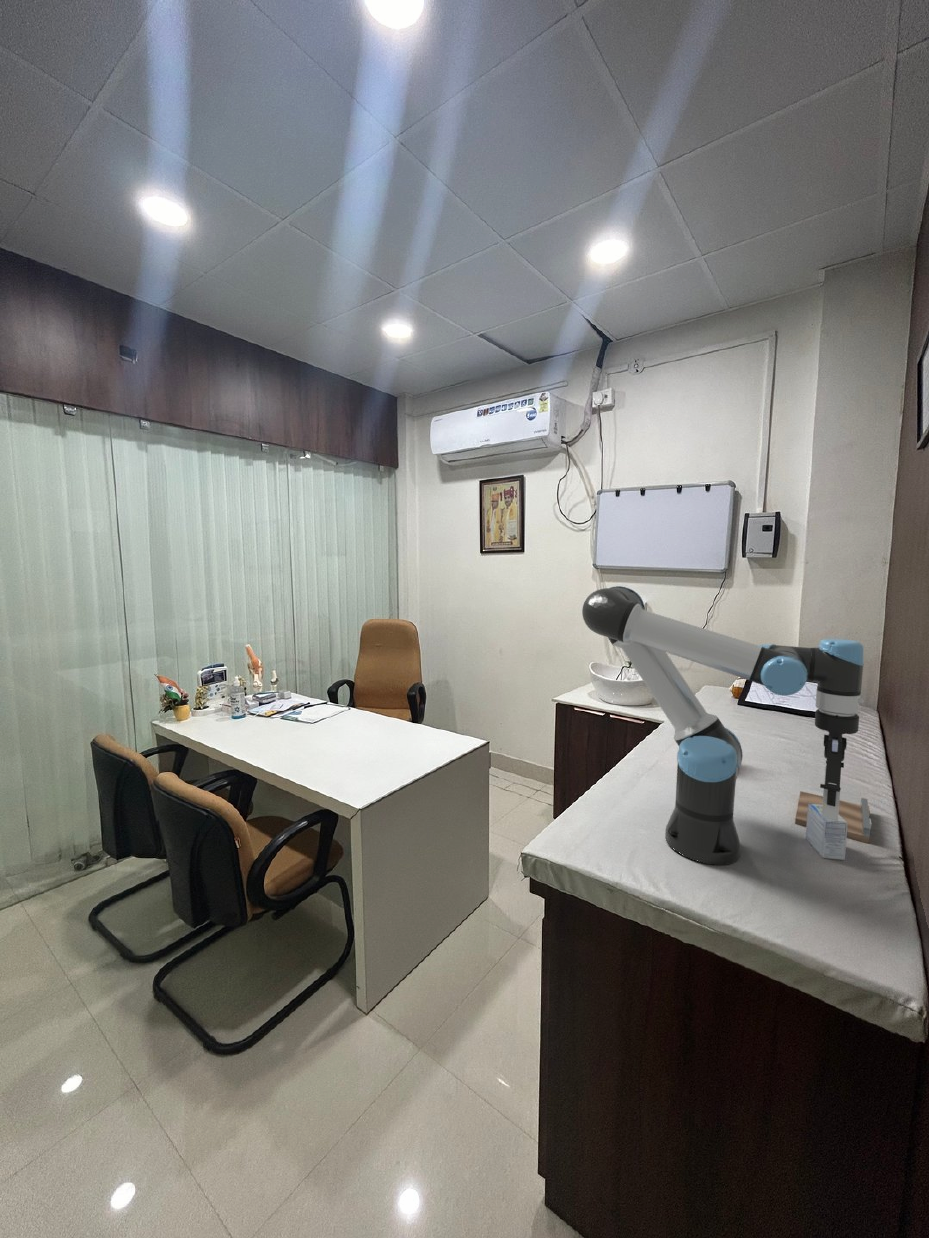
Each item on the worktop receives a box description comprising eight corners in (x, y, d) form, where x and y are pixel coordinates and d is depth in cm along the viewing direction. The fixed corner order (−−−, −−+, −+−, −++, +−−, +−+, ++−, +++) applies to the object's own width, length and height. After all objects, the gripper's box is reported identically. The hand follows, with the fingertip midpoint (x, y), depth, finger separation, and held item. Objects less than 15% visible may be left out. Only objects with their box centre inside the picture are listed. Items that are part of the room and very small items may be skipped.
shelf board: (870, 843, 112) (872, 829, 112) (794, 823, 120) (796, 810, 120) (867, 812, 126) (868, 799, 126) (800, 796, 135) (801, 784, 134)
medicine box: (845, 861, 105) (849, 822, 105) (821, 858, 106) (825, 820, 105) (826, 840, 113) (829, 804, 112) (804, 838, 114) (807, 802, 113)
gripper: (861, 730, 94) (853, 836, 96) (857, 701, 114) (851, 789, 116) (813, 723, 99) (806, 824, 101) (817, 696, 118) (812, 781, 121)
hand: (830, 806), depth 108 cm, fingers open, 13 cm apart
